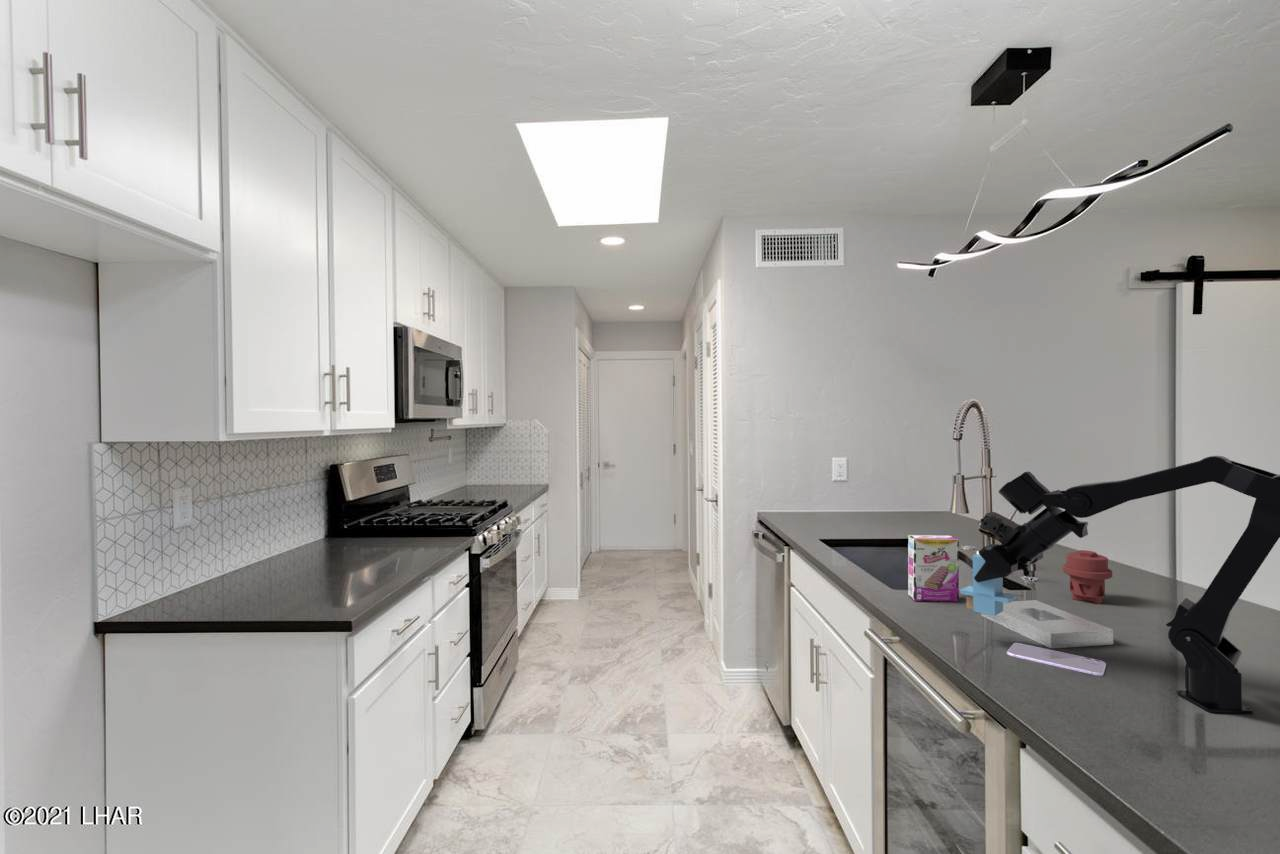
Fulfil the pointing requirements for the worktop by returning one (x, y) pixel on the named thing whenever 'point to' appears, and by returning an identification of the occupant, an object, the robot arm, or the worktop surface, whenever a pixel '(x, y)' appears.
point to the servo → (986, 592)
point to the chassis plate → (1051, 625)
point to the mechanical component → (1087, 575)
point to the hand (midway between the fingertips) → (980, 578)
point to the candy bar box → (933, 568)
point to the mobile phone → (1057, 659)
